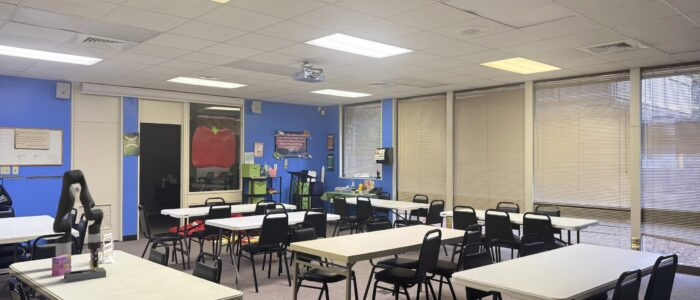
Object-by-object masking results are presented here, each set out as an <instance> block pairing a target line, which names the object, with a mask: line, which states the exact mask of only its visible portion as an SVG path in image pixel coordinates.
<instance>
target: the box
mask: <svg viewBox="0 0 700 300" xmlns="http://www.w3.org/2000/svg"><path fill="white" fill-rule="evenodd" d="M69 271H72V254H71V255H61V256H57V257H56V256H55V257H51V277H61V276H64V272H69Z"/></svg>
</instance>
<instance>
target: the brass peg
mask: <svg viewBox="0 0 700 300" xmlns="http://www.w3.org/2000/svg"><path fill="white" fill-rule="evenodd" d="M99 262H100V259H99V260H98V261H97V267H96V268H100V264H99ZM96 268H94V267H93V260H91V259H89V269H93V271H96Z"/></svg>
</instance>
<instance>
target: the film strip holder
mask: <svg viewBox="0 0 700 300" xmlns="http://www.w3.org/2000/svg"><path fill="white" fill-rule="evenodd" d="M109 238H110V242H109V243H106V244H105V240H106V239H109ZM109 253H110V255H109ZM108 255H109V256H108ZM101 256H102V261H100V257H101ZM98 260H99V265H100V264H115V263H117V262H119V261H122V260H123V259H122V258H114V232H110V233H107V234H103V235H102V248H101V252H100V254H99V255H98Z"/></svg>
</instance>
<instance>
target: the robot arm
mask: <svg viewBox="0 0 700 300" xmlns="http://www.w3.org/2000/svg"><path fill="white" fill-rule="evenodd" d="M76 184H78V185H79V187H80V191H79V195H78V198H79V202H80V204H81V206H82V208H83V213H84V214H83V215H84V218H85V220H87V221H88V222H93V223H91V224H89V225H88V227H87V249H88V250H90V253H89V254H90V256H89V257H90V260H93V267H94V268H96V267H97V261H98V258H99V251H98V249H102V248H101V247H102V235H101V228H102V223H103V219H104V211H103V210H102V209H100V208H95V206H96V202H95V201H94V199H93V197H92V194H91V193H90V190H89V187H88V183H87V180H86V178H85V174H84V172H83V171H82V170H81V169H72V170H71V169H70V170H65V171H64V173H63V176H62V184H61V190H60V191H61V193H60V197H59V200H58V205H57V210H56V215H55V217H54V220H53V224H52V231H53V233H55V234H63V233H64V234H63V235H61V236H60V237H56V239H55V257H57V256H61V255H71V256H72V231H73V229H72V228H73V222H72V220H71V219H70V218H64V217H66V216H67V215H68V214H69V213H70V212H71V211H72V210H73V209H74V206H75V202H76V197H75V195H74V193H73V192H72V191H71V186H72V185H76ZM94 208H95V209H94Z"/></svg>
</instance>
